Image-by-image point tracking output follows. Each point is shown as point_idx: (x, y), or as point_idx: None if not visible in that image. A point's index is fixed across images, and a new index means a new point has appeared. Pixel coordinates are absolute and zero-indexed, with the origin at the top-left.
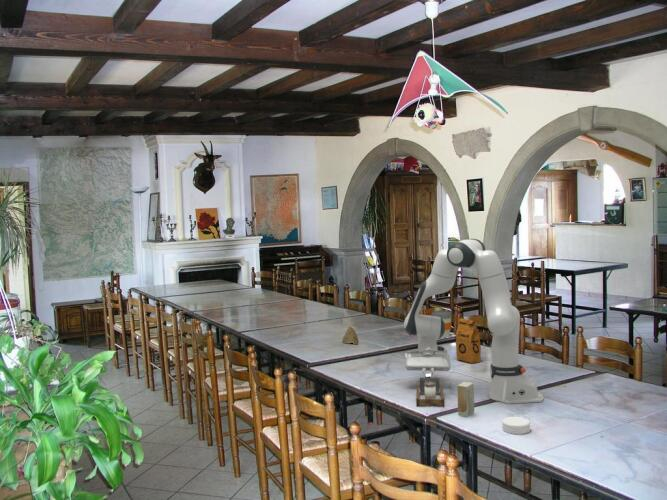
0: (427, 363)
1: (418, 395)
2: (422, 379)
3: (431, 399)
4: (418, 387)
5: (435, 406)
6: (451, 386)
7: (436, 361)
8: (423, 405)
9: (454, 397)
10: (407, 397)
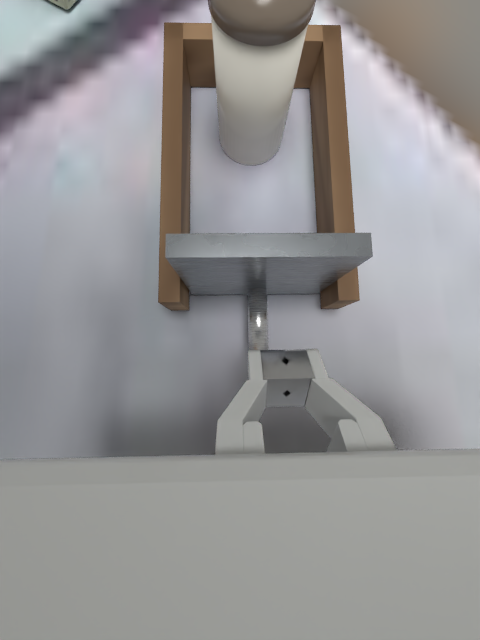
0: (345, 537)
1: (331, 98)
2: (338, 238)
3: None
4: (344, 279)
5: None
6: None
7: (122, 630)
8: None
9: (103, 231)
10: (388, 226)
